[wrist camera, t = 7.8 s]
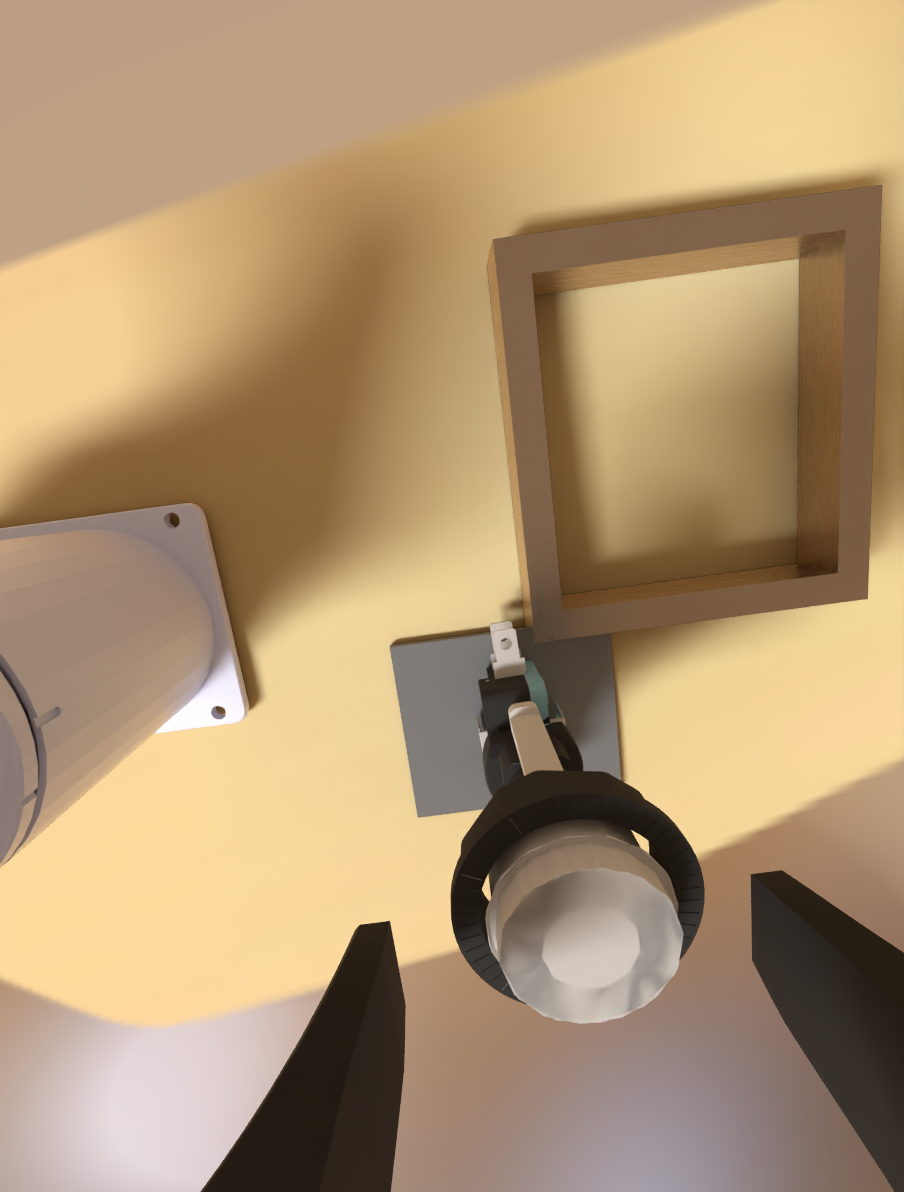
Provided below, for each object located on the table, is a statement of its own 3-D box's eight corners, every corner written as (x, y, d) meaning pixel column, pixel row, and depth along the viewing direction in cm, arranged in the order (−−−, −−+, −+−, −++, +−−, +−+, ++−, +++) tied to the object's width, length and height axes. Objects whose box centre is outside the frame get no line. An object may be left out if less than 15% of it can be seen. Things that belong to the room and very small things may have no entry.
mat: (418, 812, 21) (418, 817, 21) (390, 644, 20) (389, 647, 19) (619, 786, 21) (621, 790, 21) (606, 615, 19) (609, 618, 19)
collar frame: (525, 627, 19) (535, 642, 18) (487, 267, 17) (493, 239, 15) (824, 586, 19) (867, 598, 17) (830, 219, 17) (881, 184, 15)
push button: (428, 630, 19) (413, 787, 9) (574, 604, 19) (714, 735, 9) (459, 794, 21) (476, 1078, 11) (596, 770, 20) (738, 1035, 11)
